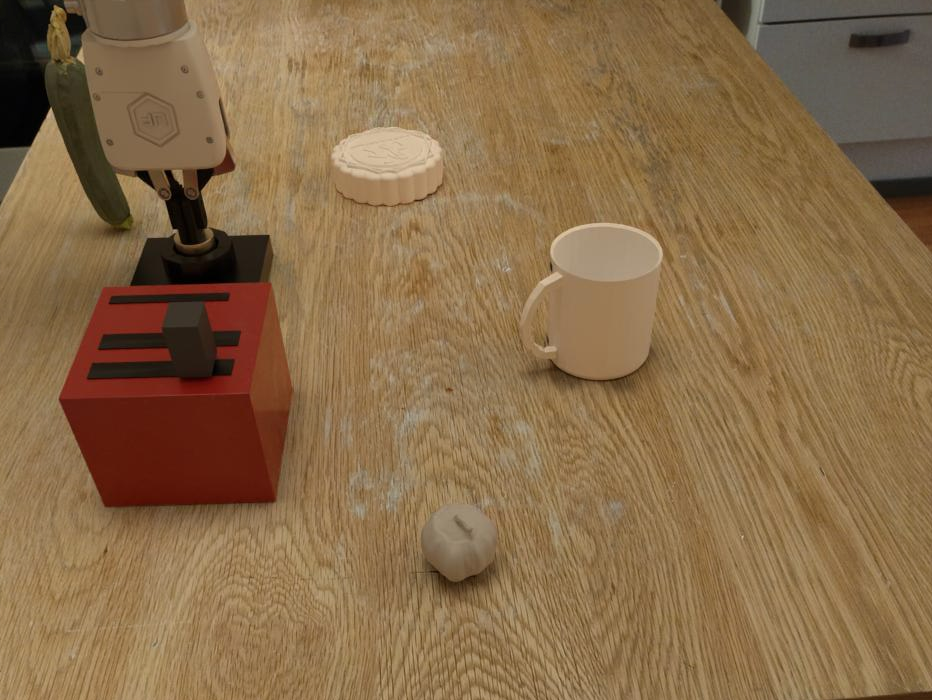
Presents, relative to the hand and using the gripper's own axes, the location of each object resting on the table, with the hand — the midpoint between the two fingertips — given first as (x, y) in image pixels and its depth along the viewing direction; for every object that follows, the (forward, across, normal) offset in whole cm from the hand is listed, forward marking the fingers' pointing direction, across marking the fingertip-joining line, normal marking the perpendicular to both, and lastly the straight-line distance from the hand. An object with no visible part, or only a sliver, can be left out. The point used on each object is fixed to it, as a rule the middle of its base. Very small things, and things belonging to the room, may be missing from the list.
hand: (192, 235), depth 89 cm
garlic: (+5, +24, -38) cm, 45 cm away
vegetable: (+5, -11, +11) cm, 16 cm away
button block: (+5, 0, 0) cm, 5 cm away
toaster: (+5, +4, -24) cm, 25 cm away
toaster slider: (-5, +6, -28) cm, 29 cm away
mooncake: (+5, +17, +20) cm, 27 cm away
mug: (+5, +35, -13) cm, 38 cm away
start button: (+2, 0, 0) cm, 2 cm away
